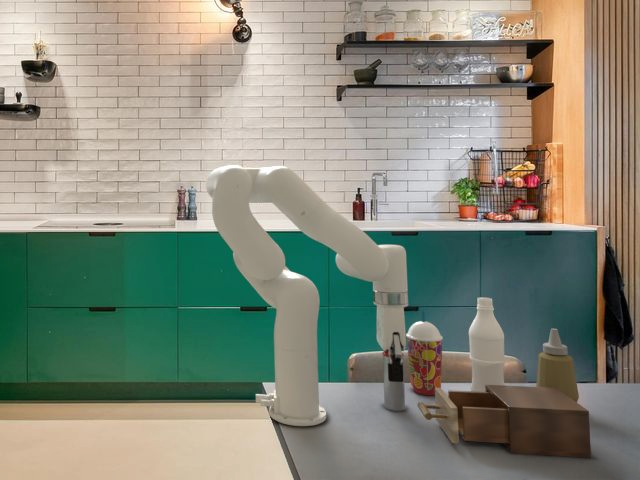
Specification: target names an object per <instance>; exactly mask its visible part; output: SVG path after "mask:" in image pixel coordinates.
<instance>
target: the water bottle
mask: <svg viewBox="0 0 640 480" xmlns="http://www.w3.org/2000/svg"><path fill="white" fill-rule="evenodd" d="M476 310H477V312H476V315H475V317H474V319H473V321H472V322H471V324H470V326H469V329H468V337H469V338H468V341H469V360H470V364H471V384H470V391H475V392H485V385H503V386H506V385H505V376H504V373H505V363H506V358H505V355H506V354H505V334H504V331H503V328H502V327H501V325H500V323H499V322H498V320H497V319H496V317H495V313H494V310H495V308H494V305H493V299H492V297H491V298H490V297H481V296H480V297H477V304H476Z"/></svg>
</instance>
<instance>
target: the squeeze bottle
mask: <svg viewBox="0 0 640 480" xmlns="http://www.w3.org/2000/svg"><path fill="white" fill-rule="evenodd" d="M558 330H559V329H558V328H550V332H549V337H548V342H544V343H543V344H542V352H540V353H538V357H537V358H538V360H537V373H536V386H535V387H549V388H557V389H558V390H560V391H561V392H563V393H564V394H565V395H567V396H568V397H570V398H571V399H572V400H574V401H575V402H577V403H578V401H579V398H580V394H579V388H578V381H577V376H576V370H575V364H574V358H572V356H570V355H568V352H569V351H568V346H567V345H565V344H562V340H561V338H560V334H559V331H558Z"/></svg>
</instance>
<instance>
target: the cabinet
mask: <svg viewBox="0 0 640 480" xmlns="http://www.w3.org/2000/svg"><path fill="white" fill-rule="evenodd" d="M485 392H490V393H491V394H492V395H493V396H494V397H495V398H496V399H497V400H498V401H499V402H500V403H501V404H502V405H504V406H505V407H506V408H507V409H508V427H509V443H502V445H504V447H505V448H506V449H507V450H508V451H509V452H510V453H511V454H524V455H541V456H556V457H571V458H586V459H587V458H588V459H592V447H591V427H590V410H588V409H587V408H586V407H584V406H582V405H581V403H578V401H577V402H575V401H574V400H572V399H571V398H570V397H568V396H567V395H565V394H564V393H563V392H561V391H560V390H558V389H557V388H549V387H536V386H524V385H523V386H522V385H505V386H503V385H485Z"/></svg>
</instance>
